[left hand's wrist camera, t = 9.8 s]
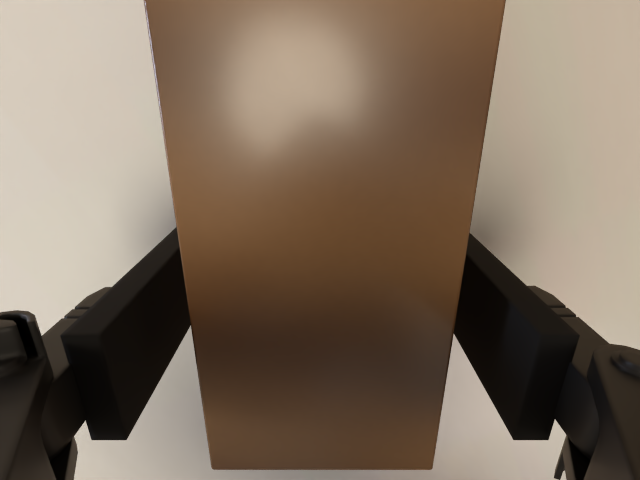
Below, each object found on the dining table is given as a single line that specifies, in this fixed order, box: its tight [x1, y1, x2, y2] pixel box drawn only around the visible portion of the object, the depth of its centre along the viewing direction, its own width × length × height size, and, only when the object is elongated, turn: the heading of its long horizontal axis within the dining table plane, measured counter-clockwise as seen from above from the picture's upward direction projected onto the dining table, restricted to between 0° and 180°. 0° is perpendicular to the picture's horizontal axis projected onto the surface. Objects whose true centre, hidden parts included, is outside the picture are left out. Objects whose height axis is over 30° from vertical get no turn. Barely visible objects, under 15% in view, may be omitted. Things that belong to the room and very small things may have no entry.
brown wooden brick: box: [144, 0, 506, 470], centre depth 10 cm, size 19×6×8 cm, turn 0°
